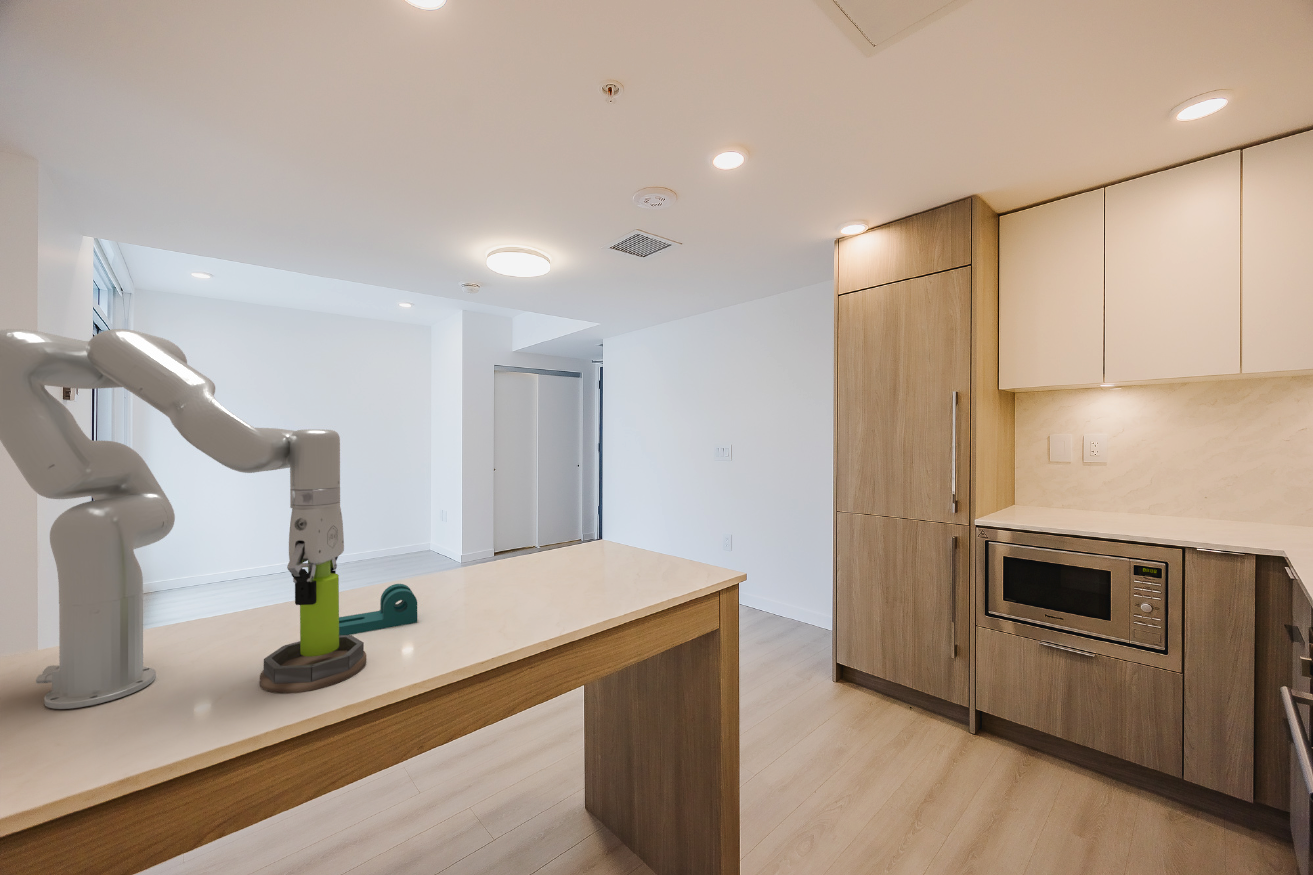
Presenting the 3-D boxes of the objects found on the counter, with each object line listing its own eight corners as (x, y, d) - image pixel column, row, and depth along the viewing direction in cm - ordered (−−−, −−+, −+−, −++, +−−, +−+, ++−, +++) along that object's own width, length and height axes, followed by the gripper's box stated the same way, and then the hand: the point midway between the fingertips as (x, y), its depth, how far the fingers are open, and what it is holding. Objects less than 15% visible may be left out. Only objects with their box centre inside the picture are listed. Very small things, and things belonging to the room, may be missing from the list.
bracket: (412, 614, 123) (412, 581, 123) (417, 623, 118) (417, 588, 118) (322, 630, 114) (322, 594, 113) (323, 640, 108) (323, 602, 108)
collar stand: (236, 695, 85) (236, 672, 85) (293, 654, 101) (293, 635, 101) (341, 690, 87) (341, 668, 87) (380, 650, 102) (380, 632, 102)
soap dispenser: (297, 646, 95) (296, 537, 95) (341, 640, 98) (340, 534, 97) (289, 660, 90) (288, 544, 89) (336, 653, 92) (335, 541, 92)
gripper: (311, 504, 85) (312, 613, 85) (359, 492, 102) (359, 583, 103) (262, 505, 84) (263, 615, 85) (319, 492, 102) (319, 584, 102)
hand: (316, 597), depth 94 cm, fingers closed on soap dispenser, 5 cm apart
